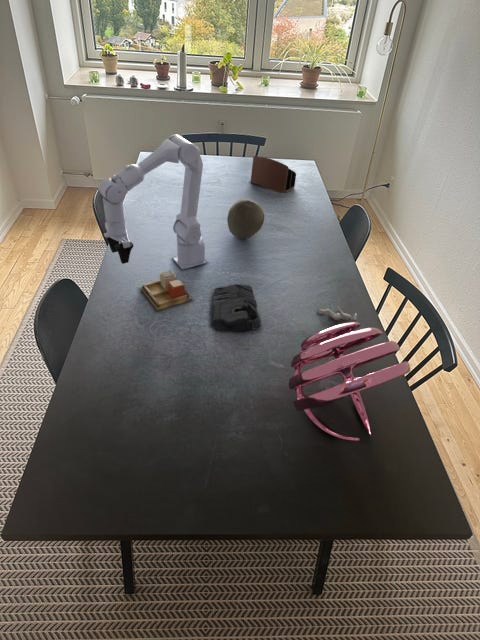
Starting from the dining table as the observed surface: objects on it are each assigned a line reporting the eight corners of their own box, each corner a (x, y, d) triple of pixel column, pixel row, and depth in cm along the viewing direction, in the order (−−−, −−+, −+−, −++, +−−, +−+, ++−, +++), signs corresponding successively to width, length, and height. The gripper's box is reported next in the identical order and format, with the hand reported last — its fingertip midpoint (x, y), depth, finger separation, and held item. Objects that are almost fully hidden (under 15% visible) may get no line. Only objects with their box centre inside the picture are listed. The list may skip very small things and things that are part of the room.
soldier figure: (321, 309, 150) (359, 308, 145) (321, 324, 149) (358, 323, 144) (316, 305, 143) (355, 303, 138) (316, 320, 142) (355, 319, 137)
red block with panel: (179, 290, 150) (178, 278, 147) (184, 296, 147) (184, 284, 144) (168, 293, 148) (167, 281, 145) (173, 300, 145) (173, 288, 142)
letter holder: (284, 194, 216) (288, 165, 207) (250, 182, 224) (252, 154, 215) (294, 188, 223) (298, 159, 214) (260, 176, 231) (263, 149, 222)
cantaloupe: (242, 248, 175) (245, 213, 165) (219, 234, 182) (220, 199, 173) (268, 238, 182) (272, 203, 173) (245, 224, 190) (248, 190, 180)
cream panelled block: (171, 281, 153) (170, 269, 150) (176, 287, 151) (176, 275, 148) (160, 284, 152) (159, 272, 149) (165, 290, 149) (164, 278, 146)
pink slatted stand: (455, 416, 91) (401, 293, 97) (327, 464, 89) (279, 335, 94) (403, 418, 119) (363, 322, 124) (304, 454, 116) (268, 355, 121)
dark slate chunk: (257, 290, 154) (259, 278, 151) (260, 333, 137) (262, 321, 134) (212, 288, 153) (213, 276, 150) (210, 331, 136) (210, 318, 133)
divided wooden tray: (173, 280, 156) (173, 275, 154) (190, 300, 147) (190, 295, 146) (141, 289, 150) (140, 284, 149) (157, 310, 142) (156, 305, 141)
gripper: (93, 212, 140) (99, 249, 149) (112, 232, 132) (117, 271, 140) (115, 207, 144) (119, 244, 152) (134, 226, 135) (138, 265, 144)
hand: (120, 257), depth 147 cm, fingers open, 7 cm apart
